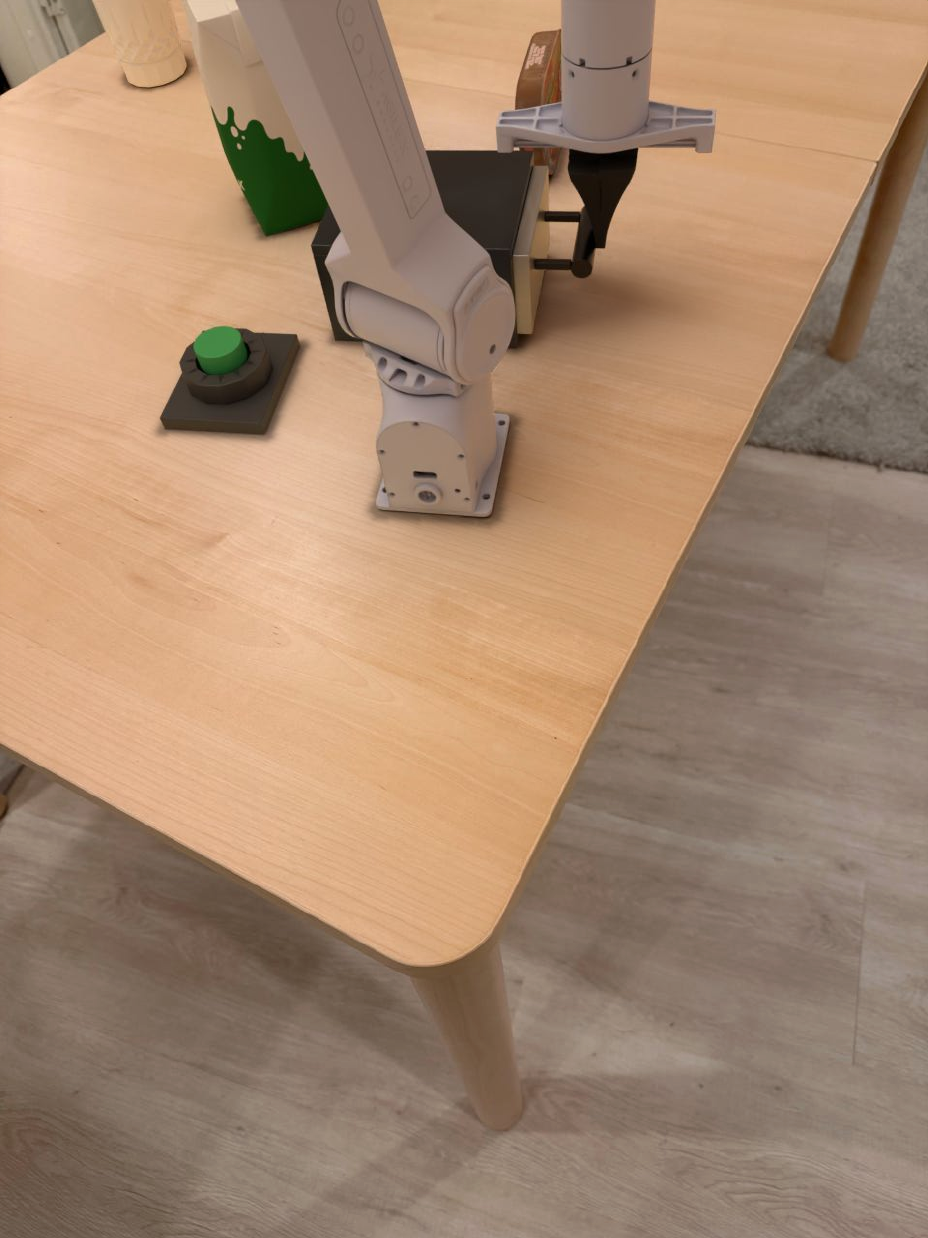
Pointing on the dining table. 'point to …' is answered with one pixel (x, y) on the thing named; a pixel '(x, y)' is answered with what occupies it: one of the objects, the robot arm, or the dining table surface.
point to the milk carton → (252, 120)
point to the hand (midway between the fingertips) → (600, 240)
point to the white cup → (143, 39)
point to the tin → (541, 85)
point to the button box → (233, 388)
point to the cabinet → (458, 212)
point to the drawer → (544, 248)
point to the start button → (220, 350)
